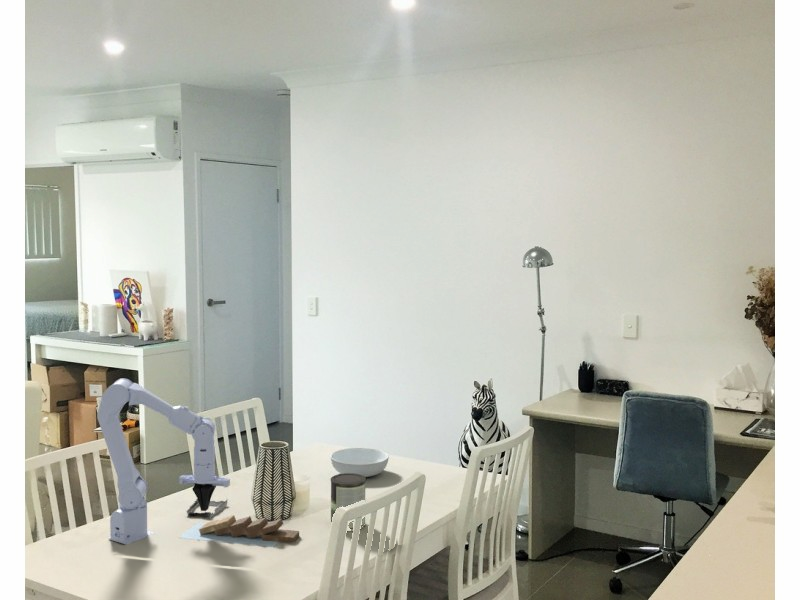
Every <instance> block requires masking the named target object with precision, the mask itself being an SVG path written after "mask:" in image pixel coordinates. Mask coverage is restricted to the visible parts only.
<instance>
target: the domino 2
mask: <svg viewBox="0 0 800 600" xmlns="http://www.w3.org/2000/svg"><path fill="white" fill-rule="evenodd" d="M268 522H269V521H268V520H267V517H263V518H259V519H256V520H253V521H252V522H251V523H250V524H249V525H248V526H247V527H246V528H243V529H240V530H236V531H233V532H231V535H232V537H237V536H240V535H243V534H246V533H250V532H253V531H256V530H260V529H262V528H263V527H264V526H265V525H266V524H267V523H268Z"/></svg>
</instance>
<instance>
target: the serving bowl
mask: <svg viewBox="0 0 800 600" xmlns="http://www.w3.org/2000/svg"><path fill="white" fill-rule="evenodd" d="M389 459H390V457H389V454H388V453H387V452H386V451H384V450H380V449H377V448H370V447H351V448H344V449H339V450H336V451H333V452H332V453H331V454H330V461H331V464H332V467H333V469H335V471H336V472H338V473H339V474H344V473H353V474H360V475H362V476H364V477H365V478H368V477H373V476H376V475H378V474H380V473H382V472H383V471H384V470H385V469H386V467H387V465H388V462H389Z"/></svg>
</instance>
